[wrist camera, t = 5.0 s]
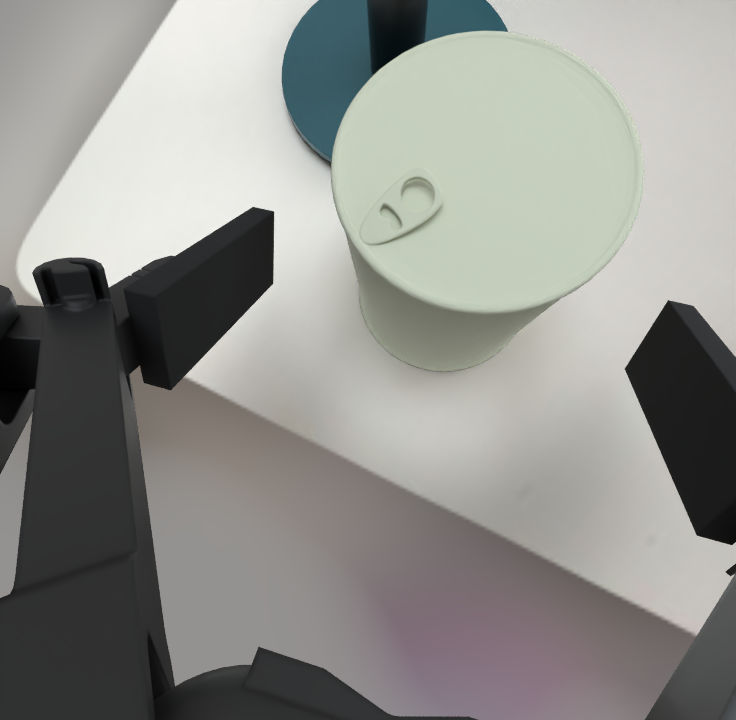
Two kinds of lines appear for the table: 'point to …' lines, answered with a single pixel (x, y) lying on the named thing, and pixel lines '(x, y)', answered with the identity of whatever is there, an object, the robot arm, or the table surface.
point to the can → (480, 191)
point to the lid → (361, 52)
